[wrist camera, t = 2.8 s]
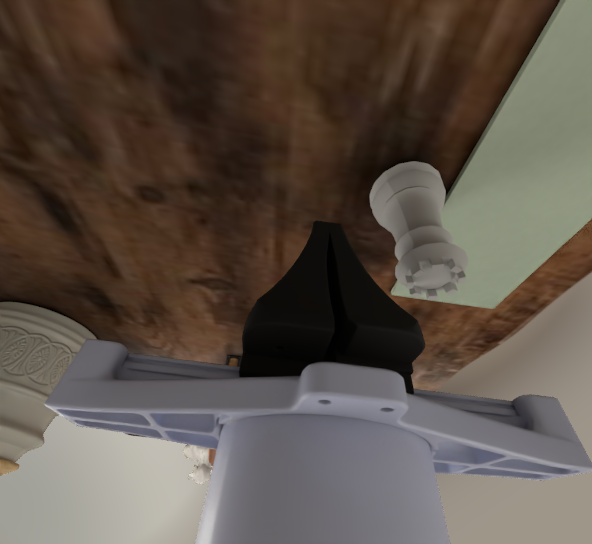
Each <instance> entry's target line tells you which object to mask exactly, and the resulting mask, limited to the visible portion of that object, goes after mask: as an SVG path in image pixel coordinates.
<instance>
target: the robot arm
mask: <svg viewBox="0 0 592 544" xmlns="http://www.w3.org/2000/svg"><path fill="white" fill-rule="evenodd" d="M242 341H243V355H242V359H241V364H240V367H237V366H229V365H221V364H213V363H205V362H197V361H189V360H181V359H173V358H165V357H157V356H149V355H141V354H133V353H128V350H127V348H126V347H125V346H124V345H123V344H121V343H118V342H113V341H105V340H98V339H87V340H86V341H85V343H84V344H83V346H82V347H81V349H80V350H79V352H78V353H77V355H76V356H75V358H74V359H73V361H72V362H71V364H70V365H69V367H68V368H67V370H66V371H65V373H64V375H63V376H62V378H61V379H60V381H59V382H58V384H57V385H56V387H55V388H54V390H53V391H52V393H51V394H50V396H49V397H48V399H47V400H46V402H45V406H46V407H48V408H49V409H51V410H53V411H54V412H56V413H58V414H59V415H61V416H63V417H64V418H66V419H68V420H69V421H71V422H72V423H74V424H76V425H77V426H80V427H89V428H96V429H104V430H111V431H117V432H123V433H129V434H135V435H140V436H146V437H151V438H157V439H162V440H167V441H173V442H178V443H184V444H189V445H194V446H199V447H205V448H210V449H215V450H217V451H216V455H215V459H214V464H213V468H212V472H211V476H210V481H209V485H208V489H207V494H206V498H205V502H204V507H203V511H202V515H201V519H200V523H199V528H198V532H197V537H196V541H195V544H450V540H449V535H448V530H447V525H446V521H445V516H444V511H443V506H442V502H441V497H440V492H439V488H438V484H437V479H436V474H435V473H443V474H464V475H481V476H499V477H510V478H522V479H531V480H540V481H542V480H548V479H554V478H559V477H565V476H570V475H576V474H582V473H587V472H592V462H591V461H590V459H589V457H588V455H587V453H586V451H585V449H584V448H583V446H582V444H581V442H580V440H579V438H578V436H577V435H576V433H575V431H574V429H573V427H572V425H571V423H570V421H569V420H568V418H567V416H566V414H565V412H564V410H563V408H562V407H561V405H560V403H559V401H558V399H556V398H554V397H546V396H539V395H522V396H519V397H517V398H516V399H514V400H513V401H506V400H498V399H490V398H483V397H475V396H466V395H458V394H450V393H443V392H435V391H427V390H419V389H413V384H412V379H411V374H412V373H413V367H412V362H413V361H414V360H415V359H416V358H417V357H418V356H419V355H420V354H421V353H422V351H423V350H424V348H425V342H424V338H423V334H422V331H421V328H420V326H419V323H418V321H417V320H416V319H415V318H414V317H412V316H411V315H410V314H408V313H407V312H406V311H405V310H403V309H402V308H401V307H400V306H398V305H397V304H396V303H395V302H394V301H393V300H392V299H391V298H390V297H389V296H388V295H387V294H386V293H385V292H384V291H383V290H382V289H381V288H380V287H379V286H378V285H377V284H376V283H375V282H374V280H373V279H372V278H371V277H370V275H369V274H368V273H367V271H366V270H365V268H364V267H363V265H362V264H361V262H360V261H359V259H358V257H357V256H356V254H355V252H354V250H353V248H352V247H351V245H350V243H349V241H348V239H347V236H346V234H345V232H344V230H343V227H342V225H341V224H336V223H329V222H322V221H315V222H314V223H313V228H312V233H311V235H310V238H309V240H308V242H307V244H306V246H305V248H304V249H303V251H302V253H301V254H300V256H299V257H298V259H297V260H296V262H295V263H294V265H293V266H292V267H291V268H290V270H289V271H288V272H287V273H286V274H285V276H284V277H283V278H282V279H281V280H280V281H279V282H278V283H277V284H276V285H275V286H274V287H273V288H271V289H270V290H269V291H268V292H267V293H265V294H264V295H263V296H262V297H260V298H259V299H258V300H257V302H256V303H255V305H254V307H253V308H252V310H251V312H250V314H249V316H248V318H247V320H246V323H245V326H244V331H243V336H242Z"/></svg>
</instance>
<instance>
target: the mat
mask: <svg viewBox="0 0 592 544" xmlns="http://www.w3.org/2000/svg"><path fill="white" fill-rule="evenodd" d="M440 216H441V221H442V226H443V228H444V229H445V230H447V231H448V232H450V234H451V236H452V238H453V243H452V244H455V245H457V246H458V247H460V248H461V249H463V250H464V251H465V253H466V255H467V258H468V263H467V266H466V269H465V271H464V273H465V275H466V279H465V283H464V284H457V282H456V283H455V284H456V287H457V289H458V291H457V292H455V293H453V294H452V295H450V296H448V295H447V294H446V292H445V289H444V290H440V291H437V295H438V299H435V300H432V301H440V302H447V303H454V304H461V305H469V306H476V307H483V308H490V309H494V308H495V307H496V306H497V305H498V304H499V303H500V302H501V301H502V300H503V299H505V298H506V297H507V296H508V295H509V294H510V293H511V292H512V291H513V290H514V289H515V288H517V287H518V286H519V285H520V284H521V283H522V282H523V281H524V280H525V279H526V278H527V277H529V276H530V275H531V274H532V273H533V272H534V271H535V270H536V269H537V268H538V267H539V266H540V265H542V264H543V263H544V262H545V261H546V260H547V259H548V258H549V257H550V256H551V255H552V254H554V253H555V252H556V251H557V250H558V249H559V248H560V247H561V246H562V245H563V244H564V243H566V242H567V241H568V240H569V239H570V238H571V237H572V236H573V235H574V234H575V233H576V232H578V231H579V230H580V229H581V228H582V227H583V226H584V225H585V224H586V223H587V222H588V221H590V220H591V219H592V0H560V2H559V3H558V5H557V7H556V8H555V10H554V12H553V14H552V15H551V17H550V19H549V20H548V22H547V24H546V26H545V27H544V29H543V31H542V32H541V34H540V36H539V38H538V39H537V41H536V43H535V44H534V46H533V48H532V50H531V51H530V53H529V55H528V56H527V58H526V60H525V62H524V63H523V65H522V67H521V68H520V70H519V72H518V74H517V75H516V77H515V79H514V80H513V82H512V84H511V86H510V87H509V89H508V91H507V93H506V94H505V96H504V98H503V99H502V101H501V103H500V105H499V106H498V108H497V110H496V111H495V113H494V115H493V117H492V118H491V120H490V122H489V123H488V125H487V127H486V129H485V130H484V132H483V134H482V135H481V137H480V139H479V141H478V142H477V144H476V146H475V147H474V149H473V151H472V153H471V154H470V156H469V158H468V159H467V161H466V163H465V165H464V166H463V168H462V170H461V171H460V173H459V175H458V177H457V178H456V180H455V182H454V184H453V185H452V187H451V189H450V190H449V192H448V194H447V196H446V197H445V202H444V207H443V208H442V213H441V215H440ZM391 295H396V296H403V297H410V298H416V297H414V296H412V295H411V294H410V291H409V289H407V288H406V286H404V285H402V284H401V283H400V282H399V281H398V280H397V281H396V283H395V285H394V287H393V288H392V290H391ZM418 299H425V300H427V297H426V294H425V293H423V292H421V296H420V297H419V298H418Z"/></svg>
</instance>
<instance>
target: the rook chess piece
mask: <svg viewBox="0 0 592 544" xmlns="http://www.w3.org/2000/svg"><path fill="white" fill-rule="evenodd" d="M445 195H446V190H445V188H444V185H443V182H442V179H441V177H440V174H439V172H438V171H437V170H436V169H434V168H433V167H432V166H430V165H429V164H427V163H421V162H416V161H412V162H407V163H401V164H397V165H396V166H394V167H392V168H390V169H389V170H387V171H385V172H384V173H383V174H382V175H381V176H380V177H379V178H378V179H377V180H376V181H375V183H374V185H373V187H372V190H371V192H370V207H371V208H372V210H373V215H374V216H375V218H376V220H377V221H378V223H379V224H380V225H381V226H383V227H384V228H386V229H387V230H388V231H390V232H392V234H393V236H394V238H395V240H396V246H395V255H396V257H397V258H398V260H399V262H398V264H397V265H396V267H395V277H396V278H397V279H398V281H399V282H400V283H401V284H402V285H404V286H406V288H407V289H409V291H410V294H411V295H412V296H414V297H416V298H419V297H420V296H421V292H423V293H425V294H426V297H427V300H435V299H438V295H437V291H440V290H444V289H445V292H446V294H447V295H448V296H450V295H452V294H453V293H455V292H457V291H458V289H457V287H456V284H455V283H456V282H457V284H464V283H465V279H466V275H465V273H464V271H465V269H466V266H467V263H468V258H467V255H466V253H465V251H464V250H463V249H461V248H460V247H458V246H457V245H455V244H452V243H453V238H452V236H451V234H450V232H448V231H447V230H445V229H444V228H443V226H442V221H441V216H440V215H441V213H442V208H443V207H444V202H445Z"/></svg>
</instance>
